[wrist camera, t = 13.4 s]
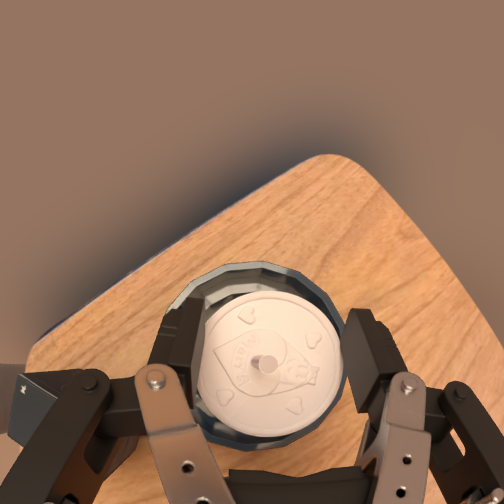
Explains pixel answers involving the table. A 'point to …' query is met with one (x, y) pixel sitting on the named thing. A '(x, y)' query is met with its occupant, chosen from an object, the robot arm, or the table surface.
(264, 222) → the table surface
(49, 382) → the box
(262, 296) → the smoothie
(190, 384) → the robot arm
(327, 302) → the bowl
